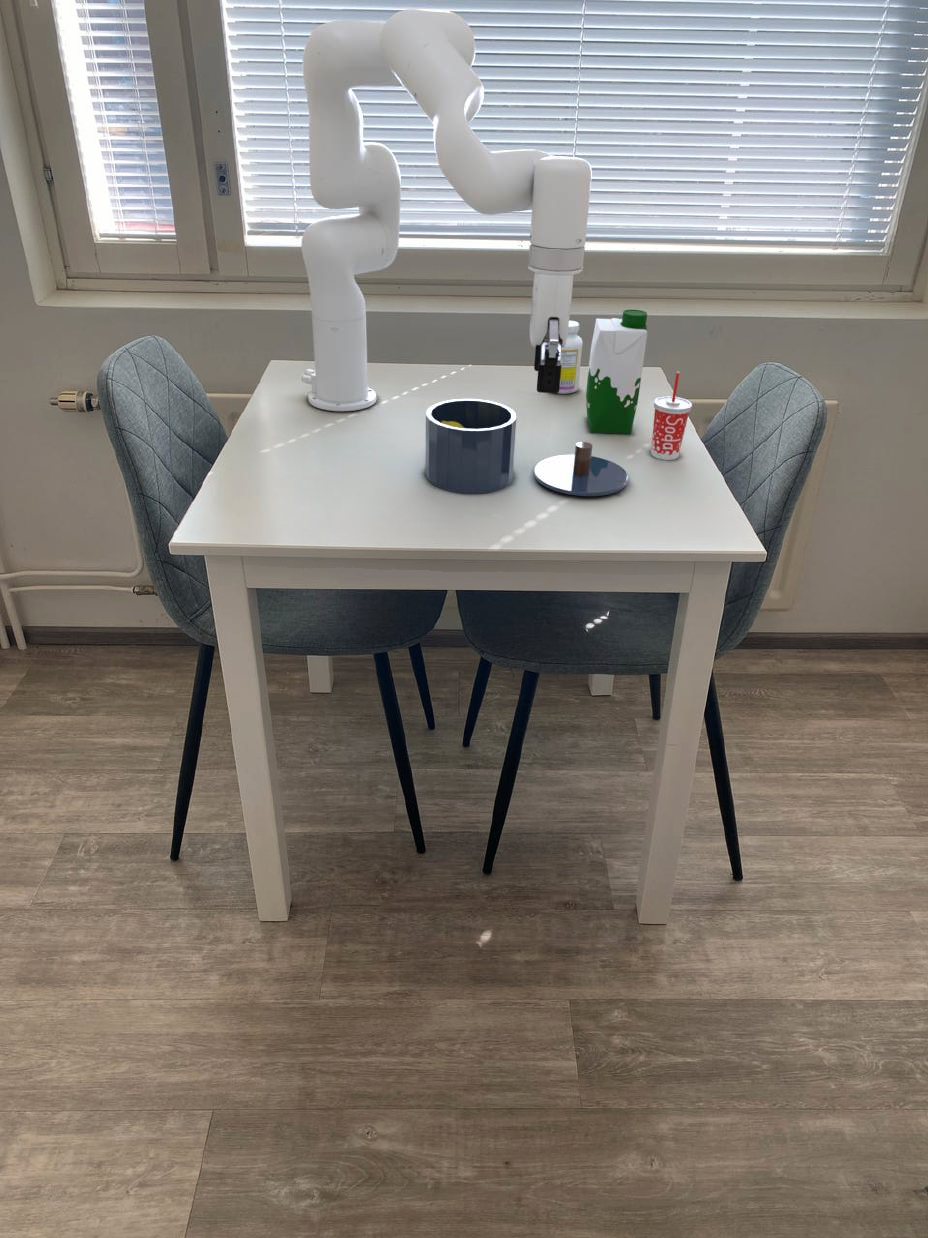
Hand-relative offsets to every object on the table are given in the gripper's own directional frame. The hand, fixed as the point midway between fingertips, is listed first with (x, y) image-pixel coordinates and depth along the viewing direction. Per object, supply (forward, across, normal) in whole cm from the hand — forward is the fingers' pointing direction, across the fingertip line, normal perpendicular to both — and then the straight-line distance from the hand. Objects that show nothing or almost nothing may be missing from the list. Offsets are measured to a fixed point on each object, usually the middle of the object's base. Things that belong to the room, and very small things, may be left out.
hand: (546, 380), depth 132 cm
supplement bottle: (+16, -43, +6) cm, 46 cm away
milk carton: (+16, -24, +14) cm, 32 cm away
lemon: (+14, 0, -11) cm, 18 cm away
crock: (+16, 0, -11) cm, 19 cm away
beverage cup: (+16, -12, +22) cm, 29 cm away
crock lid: (+15, 0, +7) cm, 16 cm away
